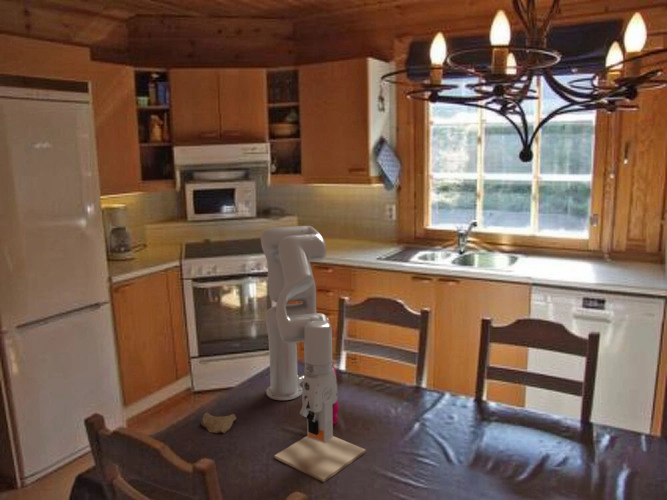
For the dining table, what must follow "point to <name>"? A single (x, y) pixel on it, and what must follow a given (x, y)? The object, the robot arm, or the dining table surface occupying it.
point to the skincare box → (323, 424)
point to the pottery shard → (217, 423)
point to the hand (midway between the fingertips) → (320, 428)
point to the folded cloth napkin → (320, 456)
